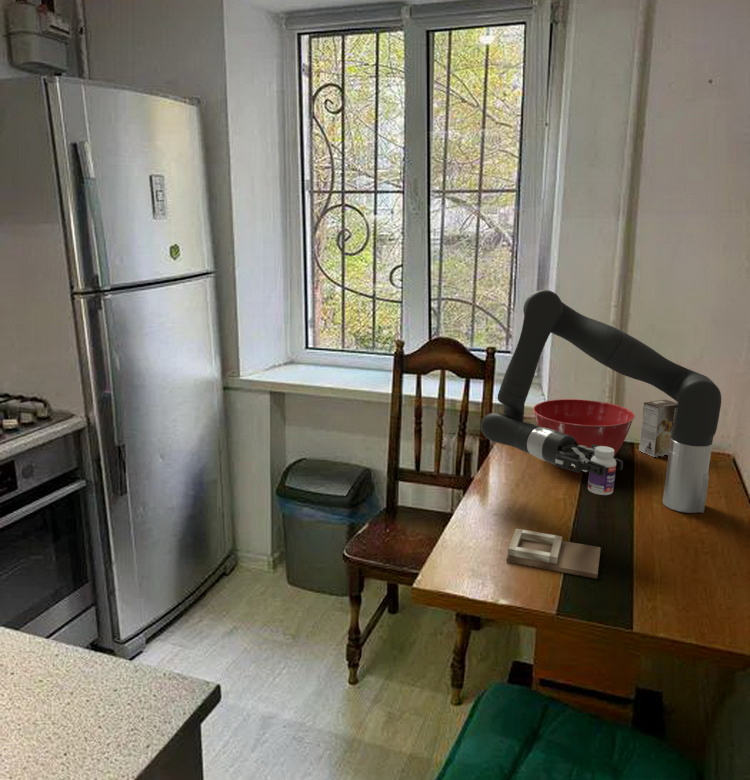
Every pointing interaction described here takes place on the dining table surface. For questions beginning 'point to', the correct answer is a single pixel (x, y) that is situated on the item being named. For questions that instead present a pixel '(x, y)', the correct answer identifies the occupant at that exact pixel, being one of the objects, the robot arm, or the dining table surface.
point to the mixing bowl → (586, 421)
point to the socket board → (553, 553)
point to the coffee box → (657, 427)
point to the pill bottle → (606, 482)
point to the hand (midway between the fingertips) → (613, 468)
